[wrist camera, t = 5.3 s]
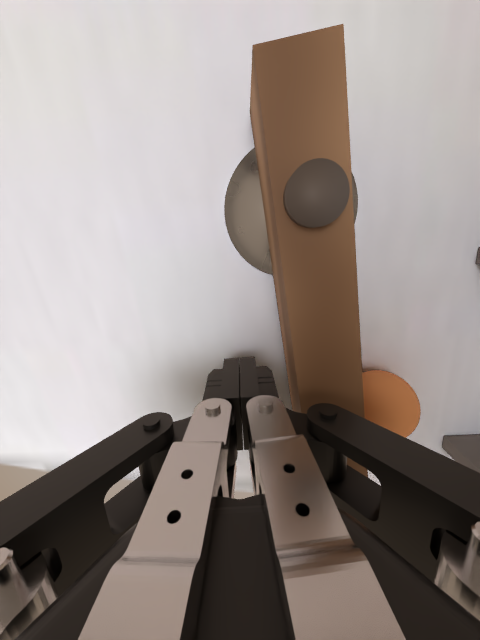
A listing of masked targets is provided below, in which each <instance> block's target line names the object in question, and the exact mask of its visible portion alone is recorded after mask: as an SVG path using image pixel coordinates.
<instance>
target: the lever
mask: <svg viewBox="0 0 480 640" xmlns="http://www.w3.org/2000/svg"><path fill="white" fill-rule="evenodd" d="M250 117H251V124H252V131H253V138H254V145H255V152H256V159H257V166H258V173H259V180H260V187H261V194H262V201H263V208H264V215H265V222H266V229H267V236H268V243H269V250H270V257H271V264H272V271H273V278H274V285H275V292H276V299H277V306H278V313H279V319H280V326H281V333H282V340H283V347H284V354H285V361H286V368H287V375H288V382H289V389H290V396H291V403H292V410H293V411H294V412H299V413H305V414H307V410H308V409H309V407H311V406H312V405H315V404H318V403H329V404H334V405H337V406H339V407H341V408H343V409H346V410H348V411H350V412H352V413H354V414H356V415H358V416H360V417H363V418H365V416H364V398H363V379H362V361H361V342H360V323H359V305H358V286H357V268H356V249H355V231H354V212H353V194H352V175H351V156H350V138H349V119H348V101H347V82H346V64H345V45H344V27H343V24H341V25H336V26H332V27H328V28H324V29H319V30H315V31H311V32H307V33H302V34H298V35H294V36H290V37H285V38H281V39H277V40H273V41H268V42H264V43H260V44H256V45H253V50H252V74H251V97H250ZM347 465H349V466H350V467H352V468H353V469H355V470H356V471H358V472H360V473H361V474H363V475H364V476H366V477H367V478H368V472H367V469H366V468H364V467H363V466H361V465H359V464H358V463H356V462H354V461H353V460H351V459H350V458H348V457H347Z"/></svg>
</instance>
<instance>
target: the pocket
mask: <svg viewBox="0 0 480 640" xmlns="http://www.w3.org/2000/svg"><path fill="white" fill-rule="evenodd" d="M476 264H480V247H479V249H478V255H477V260H476ZM442 448H443V449H444V450H445V451H446V452H447V453H448V454H449V455H450V456H451V457H452V458H453V459H454V460H455V461H456V462H458V463H460V464H462V465H464V466H466V467H468V468H470V469H473V470H475V471H477V472H479V473H480V435H457V436H444V439H443V445H442Z"/></svg>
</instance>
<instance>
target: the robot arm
mask: <svg viewBox="0 0 480 640" xmlns="http://www.w3.org/2000/svg"><path fill="white" fill-rule="evenodd" d="M242 424H243V433H242ZM243 438H244V450H249V456H250V469H251V476H252V483H253V489H254V496H252V497H248V498H245V499H234V489H235V479H236V460H237V450H243ZM347 457H348V458H350V459H351V460H353V461H354V462H356V463H358V464H359V465H361V466H363V467H364V468H366V469H367V470H369V471H371V472H372V473H373V474H374V475H375V476H376V477H377V478H378V480H379V481H380V483H381V486H380V485H378V484H377V483H375V482H374V481H372V480H371V479H369V478H367V477H366V476H364V475H363V474H361V473H360V472H358V471H356V470H355V469H353V468H352V467H350V466H349V465H347ZM138 466H139V470H140V475H141V476H139V477H138V478H137V479H136V480H134V481H133V482H132V483H130V484H129V485H128V486H127V487H125V488H124V489H123V490H121V491H120V492H119V493H118V494H116V495H115V496H114V497H112V498H111V499H110V500H109V501H108V502H106V503H105V504H104V498H105V495H106V493H107V492H108V490H109V489H110V488H111V487H112V486H113V485H114V484H115V483H117V482H118V481H119V480H121V479H122V478H123V477H125V476H126V475H127V474H129V473H130V472H131V471H133V470H134V469H135V468H137V467H138ZM0 640H480V473H479V472H477V471H475V470H473V469H470V468H468V467H466V466H464V465H462V464H460V463H458V462H456V461H453V460H451V459H449V458H447V457H445V456H443V455H441V454H439V453H437V452H434V451H432V450H430V449H428V448H426V447H424V446H422V445H420V444H418V443H415V442H413V441H411V440H409V439H407V438H405V437H403V436H401V435H398V434H396V433H394V432H392V431H390V430H388V429H386V428H384V427H382V426H379V425H377V424H375V423H373V422H371V421H369V420H367V419H365V418H363V417H360V416H358V415H356V414H354V413H352V412H350V411H348V410H346V409H343V408H341V407H339V406H337V405H334V404H329V403H318V404H315V405H312V406H311V407H309V409H308V410H307V414H305V413H299V412H294V411H291V410H289V409H287V408H285V406H284V404H283V402H282V401H281V400H280V399H279V397H278V393H277V389H276V385H275V382H274V378H273V374H272V371H271V370H270V369H269V368H268V367H266V366H260V367H256V364H255V357H246V358H240V365H239V358H230V359H224V365H223V369H214V370H213V371H212V372H211V373H210V374H209V375H208V379H207V383H206V388H205V392H204V397H203V401H202V402H200V403H199V404H198V405H197V406H196V407H195V409H194V411H193V414H192V416H191V417H188V418H186V419H183V420H179V421H175V422H173V420H172V417H171V416H170V415H169V414H167V413H162V412H156V413H151V414H147V415H145V416H143V417H141V418H139V419H138V420H136V421H134V422H133V423H131V424H129V425H128V426H126V427H124V428H123V429H121V430H119V431H118V432H116V433H114V434H113V435H111V436H109V437H108V438H106V439H104V440H103V441H101V442H99V443H97V444H96V445H94V446H92V447H91V448H89V449H87V450H86V451H84V452H82V453H81V454H79V455H77V456H76V457H74V458H72V459H71V460H69V461H67V462H66V463H64V464H62V465H61V466H59V467H57V468H56V469H54V470H52V471H51V472H49V473H47V474H46V475H44V476H42V477H41V478H39V479H37V480H36V481H34V482H33V483H31V484H29V485H27V486H26V487H24V488H22V489H21V490H19V491H17V492H16V493H14V494H13V495H11V496H9V497H7V498H6V499H4V500H2V501H1V502H0Z"/></svg>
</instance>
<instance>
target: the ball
mask: <svg viewBox="0 0 480 640" xmlns="http://www.w3.org/2000/svg"><path fill="white" fill-rule="evenodd" d="M362 379H363V398H364V416H365V419H367V420H369V421H371V422H373V423H375V424H377V425H379V426H382V427H384V428H386V429H388V430H390V431H392V432H394V433H396V434H398V435H401V436H403V437H405V438H406V437H407V436H409V435H410V434H411V433H412V432H413V431H414V430H415V428H416V427H417V425H418V422H419V419H420V403H419V400H418V397H417V395H416V393H415V392H414V390H413V389H412V387H411V386H410V385H409V384H408V383H407V382H406V381H405V380H403V379H402V378H400V377H399V376H397V375H395V374H393V373H390V372H386V371H380V370H372V371H366V372H363V373H362Z"/></svg>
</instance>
